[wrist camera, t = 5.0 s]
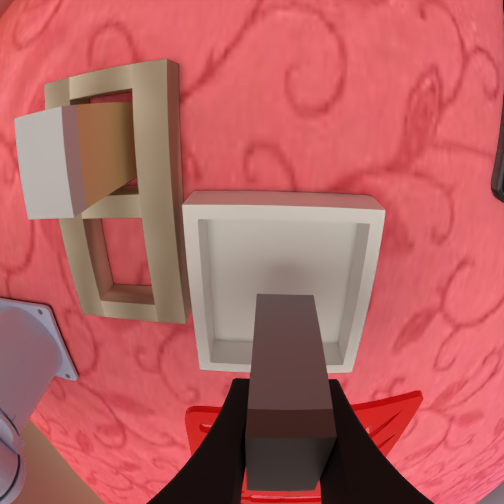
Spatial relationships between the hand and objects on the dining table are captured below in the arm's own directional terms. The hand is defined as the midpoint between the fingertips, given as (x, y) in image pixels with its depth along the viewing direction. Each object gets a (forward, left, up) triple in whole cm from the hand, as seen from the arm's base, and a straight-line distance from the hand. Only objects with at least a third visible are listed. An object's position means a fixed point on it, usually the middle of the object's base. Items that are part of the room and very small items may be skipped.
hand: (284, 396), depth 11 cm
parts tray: (0, 0, -9) cm, 9 cm away
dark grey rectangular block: (0, 0, -4) cm, 4 cm away
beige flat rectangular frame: (-9, +5, -9) cm, 13 cm away
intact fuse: (-9, +8, -9) cm, 15 cm away
